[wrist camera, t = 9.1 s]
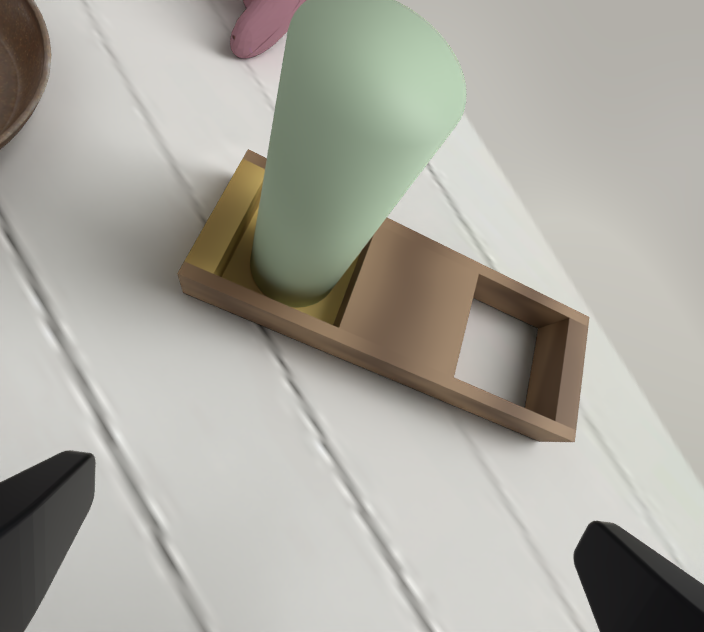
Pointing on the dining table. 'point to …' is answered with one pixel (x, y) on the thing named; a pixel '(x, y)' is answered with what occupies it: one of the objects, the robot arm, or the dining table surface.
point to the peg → (347, 137)
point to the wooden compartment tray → (398, 312)
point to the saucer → (21, 64)
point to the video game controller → (261, 25)
